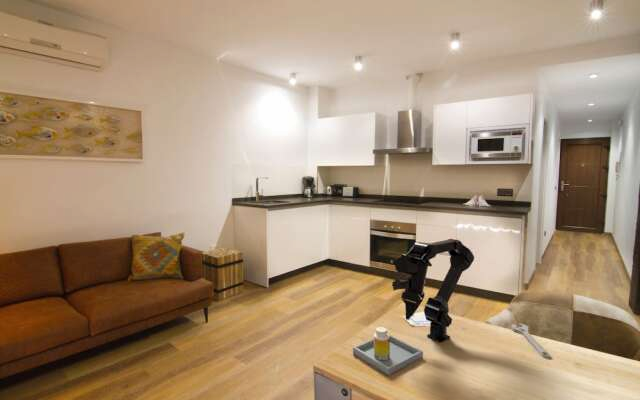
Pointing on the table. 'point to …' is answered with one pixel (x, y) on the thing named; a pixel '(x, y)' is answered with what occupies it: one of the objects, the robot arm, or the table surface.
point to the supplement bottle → (381, 344)
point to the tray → (398, 358)
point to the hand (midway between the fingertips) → (409, 317)
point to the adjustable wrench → (530, 339)
